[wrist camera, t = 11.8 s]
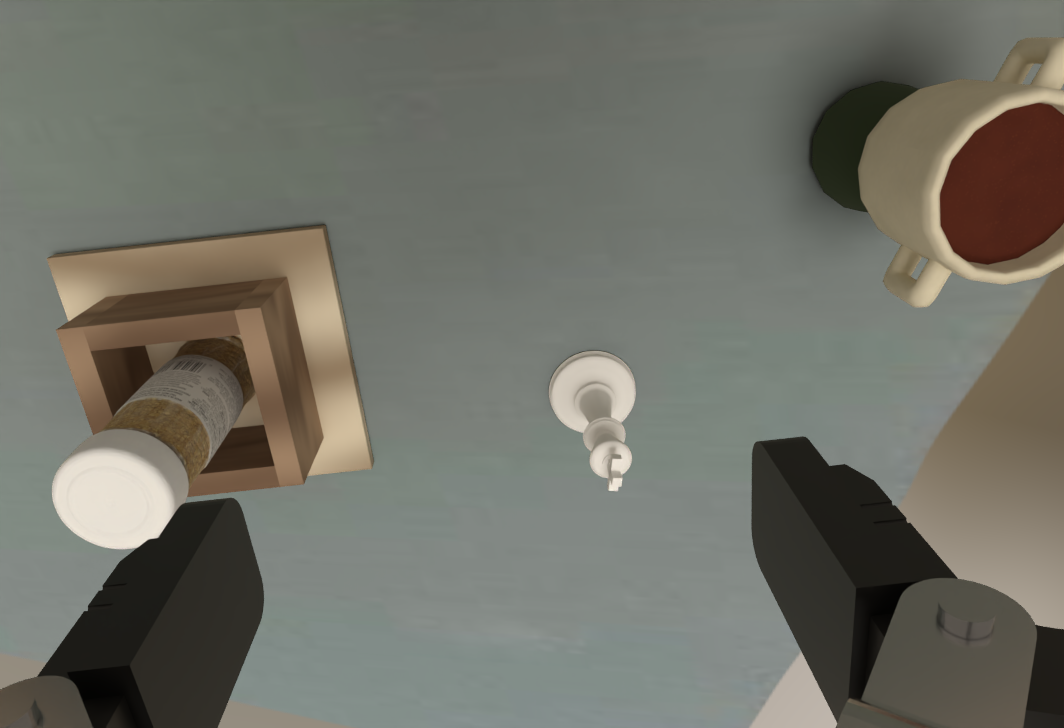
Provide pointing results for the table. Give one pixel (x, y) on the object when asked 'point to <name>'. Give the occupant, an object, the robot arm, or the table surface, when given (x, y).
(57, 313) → the table surface
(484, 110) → the table surface
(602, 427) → the chess piece
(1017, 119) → the character mug
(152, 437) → the sprinkles bottle
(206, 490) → the socket
